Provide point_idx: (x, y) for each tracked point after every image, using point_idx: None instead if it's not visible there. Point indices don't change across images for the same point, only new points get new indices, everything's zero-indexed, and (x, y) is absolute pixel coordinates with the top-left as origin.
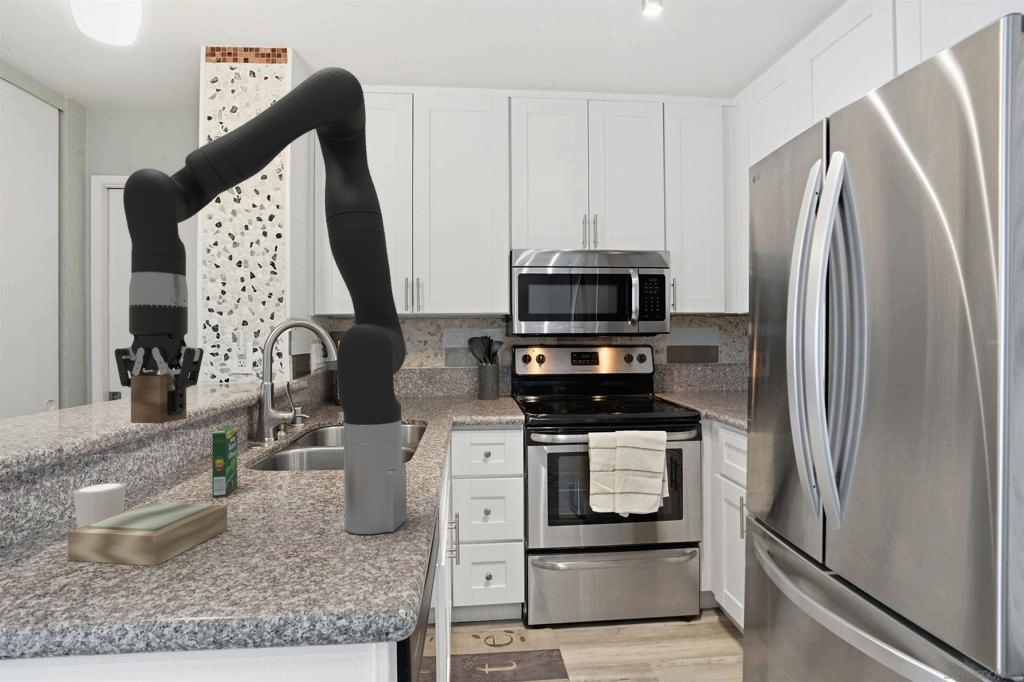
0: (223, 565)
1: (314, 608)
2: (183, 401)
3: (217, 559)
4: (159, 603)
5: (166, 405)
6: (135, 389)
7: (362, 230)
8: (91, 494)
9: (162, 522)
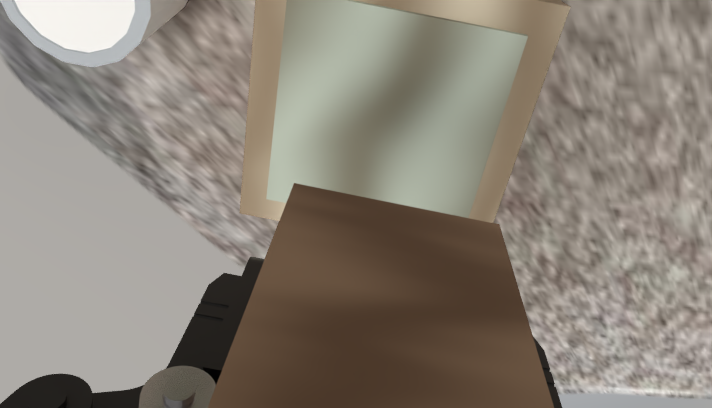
0: (621, 231)
1: None
2: (552, 391)
3: (597, 201)
4: (561, 351)
5: None
6: None
7: None
8: (114, 61)
9: (453, 193)
